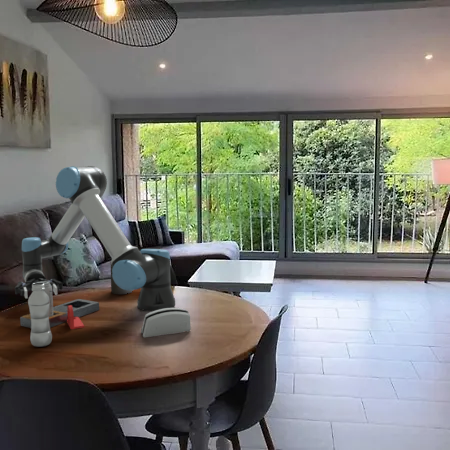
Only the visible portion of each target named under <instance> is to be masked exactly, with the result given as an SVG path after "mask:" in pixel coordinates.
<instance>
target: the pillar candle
mask: <svg viewBox="0 0 450 450" xmlns="http://www.w3.org/2000/svg"><path fill="white" fill-rule="evenodd" d="M112 269H113V267H112V265H111V264H110V287H111V288H110V291H111V294H114V295H127V293H128V294H130V293H133V292H134V290H130V291H129V290H124V289H122V288H120V287H119V286H118V285H117V284H116V283H115V282H114V280H113V277H112V274H113V273H112ZM132 291H133V292H132Z"/></svg>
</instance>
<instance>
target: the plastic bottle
mask: <svg viewBox="0 0 450 450" xmlns="http://www.w3.org/2000/svg"><path fill="white" fill-rule="evenodd" d="M44 289H45V287H44V283H34V284H32V290H31V294H30V295H29V297H28V298H27V299H28V300H27V302H28V303H27V304H28V308H29V314H31V328H30V329H31V330H30V339H29V340H30V344H31V345H32V346H33V347H37V348H38V347H39V348H40V347H46V346H49V345H50V344H51V343H52V340H53V334H52V329H51V327H50V324H49V303H50V299H49V297H48V295H47V294H46V293H45V292H44Z"/></svg>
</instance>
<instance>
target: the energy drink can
mask: <svg viewBox="0 0 450 450" xmlns="http://www.w3.org/2000/svg"><path fill="white" fill-rule="evenodd" d="M49 281H50V280H48V281H41V282H37V283H44V287H45V289H44V292H45V293H46V294H47V295H48V297H49V299H50V303H49V317H50V316H53V307H54V299H53V290H52V286H51V284H50V282H49Z"/></svg>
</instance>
